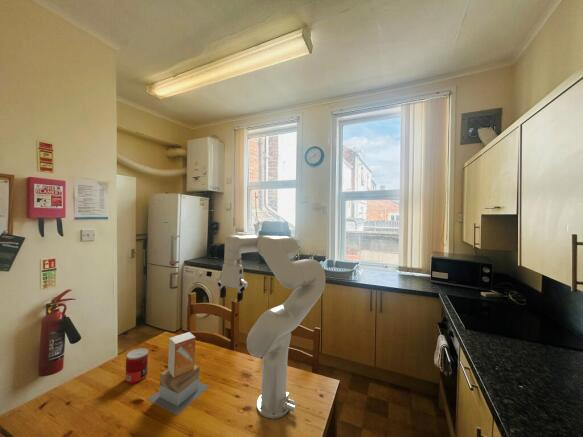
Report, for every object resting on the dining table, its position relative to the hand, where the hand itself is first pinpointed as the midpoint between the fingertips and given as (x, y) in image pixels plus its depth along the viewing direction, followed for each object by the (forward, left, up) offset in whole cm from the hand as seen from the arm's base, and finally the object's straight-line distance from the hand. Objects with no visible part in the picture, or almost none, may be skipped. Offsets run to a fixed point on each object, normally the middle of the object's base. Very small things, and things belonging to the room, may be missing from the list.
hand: (231, 298), depth 108 cm
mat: (+8, +20, -33) cm, 40 cm away
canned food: (+32, +22, -34) cm, 51 cm away
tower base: (+8, +20, -33) cm, 39 cm away
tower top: (+8, +20, -28) cm, 36 cm away
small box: (+8, +20, -24) cm, 32 cm away
